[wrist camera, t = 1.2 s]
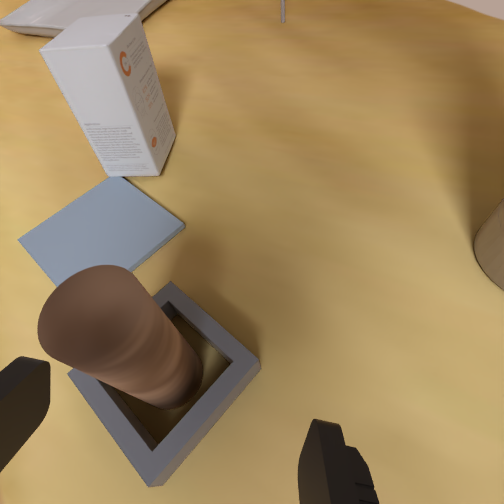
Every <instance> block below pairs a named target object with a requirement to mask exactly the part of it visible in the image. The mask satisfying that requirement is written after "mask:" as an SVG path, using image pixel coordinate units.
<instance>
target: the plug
mask: <svg viewBox="0 0 504 504" xmlns="http://www.w3.org/2000/svg"><path fill="white" fill-rule="evenodd" d="M38 339H39V342H40V344H41V346H42V348H43V349H44V351H45V352H46V353H47V354H48V355H49V356H51V357H52V358H54V359H56V360H58V361H60V362H62V363H64V364H66V365H69V366H71V367H73V368H75V369H77V370H79V371H81V372H83V373H85V374H88V375H90V376H92V377H94V378H96V379H98V380H100V381H102V382H104V383H107V384H109V385H111V386H113V387H115V388H117V389H119V390H121V391H123V392H125V393H128V394H130V395H132V396H134V397H136V398H138V399H140V400H142V401H144V402H147V403H149V404H151V405H153V406H155V407H157V408H160V409H165V410H170V409H175V408H178V407H181V406H183V405H184V404H186V403H187V402H189V401H190V400H191V399H192V398H193V397H194V395H195V394H196V393H197V391H198V389H199V387H200V385H201V382H202V377H203V368H202V363H201V360H200V358H199V357H198V355H197V354H196V352H195V351H194V350H193V349H192V347H191V346H190V345H189V344H188V342H187V341H186V340H185V339H184V337H183V336H182V335H181V334H180V332H179V331H178V330H177V328H176V327H175V326H174V325H173V323H172V322H171V321H170V320H169V318H168V317H167V316H166V315H165V313H164V312H163V311H162V310H161V308H160V307H159V306H158V305H157V303H156V302H155V301H154V300H153V298H152V297H151V296H150V294H149V293H148V292H147V291H146V289H145V288H144V287H143V286H142V284H141V283H140V282H139V281H138V279H137V278H136V277H135V276H134V275H133V274H132V273H131V272H130V271H128V270H127V269H125V268H122V267H120V266H115V265H98V266H93V267H89V268H86V269H84V270H81V271H79V272H77V273H75V274H74V275H72V276H70V277H69V278H68V279H66V280H65V281H64V282H62V283H61V284H60V285H59V286H58V287H57V288H56V289H55V290H54V291H53V293H52V294H51V295H50V296H49V298H48V299H47V301H46V302H45V304H44V306H43V308H42V311H41V313H40V316H39V320H38Z"/></svg>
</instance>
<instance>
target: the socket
mask: <svg viewBox="0 0 504 504" xmlns="http://www.w3.org/2000/svg"><path fill="white" fill-rule="evenodd" d="M152 298H153V300H154V301H155V302H156V303H157V305H158V306H159V307H160V308H161V310H162V311H163V312H164V313H165V315H166V316H167V317H168V318H169V320H171V319H172V318H174V317H175V316H176V315H177V314H179V315H180V316H181V317H182V318H183V319H184V320H185V321H186V322H187V323H188V324H189V325H190V326H192V327H193V328H194V329H195V330H196V331H197V332H198V333H199V334H200V335H201V336H202V337H203V338H204V339H205V340H206V341H207V342H208V343H210V344H211V345H212V346H213V347H214V348H215V349H216V350H217V351H218V352H219V353H220V354H221V355H222V356H223V357H224V358H225V359H227V360H228V361H229V362H230V363H231V364H230V366H229V367H228V368H227V369H226V370H225V371H224V372H223V373H222V375H221V376H220V377H219V378H218V379H217V380H216V381H215V382H214V383H213V385H212V386H211V387H210V388H209V389H208V390H207V391H206V392H205V393H204V395H203V396H202V397H201V398H200V399H199V400H198V401H197V402H196V404H195V405H194V406H193V407H192V408H191V409H190V410H189V411H188V412H187V414H186V415H185V416H184V417H183V418H182V419H181V420H180V421H179V423H178V424H177V425H176V426H175V427H174V428H173V429H172V430H171V431H170V433H169V434H168V435H167V436H166V437H165V438H164V439H163V440H162V442H161V443H160V444H159V445H158V444H157V442H156V441H155V440H154V439H153V437H152V436H151V435H150V434H149V432H148V431H147V430H146V428H145V427H144V426H143V425H142V423H141V422H140V421H139V420H138V418H137V417H136V416H135V414H134V413H133V412H132V411H131V409H130V408H129V407H128V406H127V404H126V403H125V402H124V400H123V399H122V398H121V397H120V395H119V394H118V393H117V392H116V390H115V389H114V388H113V386H111V385H109V384H107V383H104V382H102V381H100V380H98V379H96V378H94V377H92V376H90V375H88V374H85V373H83V372H81V371H79V370H77V369H75V368H73V369H72V370H71V371H70V372H68V373H67V374H68V376H69V377H70V379H71V380H72V381H73V383H74V384H75V386H76V387H77V388H78V390H79V391H80V393H81V394H82V395H83V397H84V398H85V400H86V401H87V402H88V404H89V405H90V407H91V408H92V409H93V411H94V412H95V414H96V415H97V416H98V418H99V419H100V421H101V422H102V423H103V425H104V426H105V428H106V429H107V430H108V432H109V433H110V435H111V436H112V437H113V439H114V440H115V442H116V443H117V444H118V446H119V447H120V449H121V450H122V451H123V453H124V454H125V456H126V457H127V458H128V460H129V461H130V463H131V464H132V465H133V467H134V468H135V469H136V471H137V472H138V474H139V475H140V476H141V478H142V479H143V481H144V482H145V483H146V485H147V486H148V487H155V486H163V485H164V483H165V482H166V481H167V480H168V479H169V477H170V476H171V475H172V474H173V473H174V472H175V470H176V469H177V468H178V467H179V466H180V464H181V463H182V462H183V461H184V460H185V458H186V457H187V456H188V455H189V454H190V453H191V451H192V450H193V449H194V448H195V447H196V445H197V444H198V443H199V442H200V441H201V440H202V438H203V437H204V436H205V435H206V434H207V432H208V431H209V430H210V429H211V428H212V427H213V425H214V424H215V423H216V422H217V421H218V419H219V418H220V417H221V416H222V415H223V414H224V412H225V411H226V410H227V409H228V408H229V406H230V405H231V404H232V403H233V402H234V401H235V399H236V398H237V397H238V396H239V395H240V393H241V392H242V391H243V390H244V389H245V388H246V386H247V385H248V384H249V383H250V382H251V380H252V379H253V378H254V377H255V376H256V374H257V373H258V372H259V371H260V370H261V366H260V363H259V359H258V358H257V357H256V356H254V355H253V354H252V353H251V352H250V351H249V350H248V349H246V348H245V347H244V346H243V345H242V344H241V343H240V342H239V341H237V340H236V339H235V338H234V337H233V336H232V335H231V334H230V333H228V332H227V331H226V330H225V329H224V328H223V327H222V326H221V325H219V324H218V323H217V322H216V321H215V320H214V319H213V318H212V317H210V316H209V315H208V314H207V313H206V312H205V311H204V310H203V309H201V308H200V307H199V306H198V305H197V304H196V303H195V302H194V301H192V300H191V299H190V298H189V297H188V296H187V295H186V294H185V293H183V292H182V291H181V290H180V289H179V288H178V287H177V286H176V285H174V284H173V283H172V282H171V281H170V282H169V283H168V284H167V285H166V286H164V287H163V288H162V289H161V290H160V291H159V292H158V293H157V294H156V295H154V296H153V297H152Z"/></svg>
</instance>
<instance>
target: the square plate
mask: <svg viewBox="0 0 504 504" xmlns="http://www.w3.org/2000/svg"><path fill="white" fill-rule="evenodd" d="M166 1H167V0H30V1H28V2H27V3H25V4H24V5H22V6H21V7H19V8H17V9H16V10H15V11H13V12H12V13H10V14H8V15H7V16H5V17H4V18H2V19H1V20H0V26H2V27H4V28H6V29H8V30H11V31H14V32H17V33H23V34H31V35H39V36H43V37H52V38H55V37H56V36H57V35H59V34H60V33H61V32H62V31H64V30H65V29H66V28H67V27H69V26H70V25H71V24H72V23H74V22H75V21H76V20H77V19H78V18H83V17H91V16H101V15H113V14H128V13H137V14H139V16H140V19H141V21H142V20H143V19H145V18H146V17H147V16H148V15H149V14H151V13H152V12H153V11H154V10H155V9H157V8H158V7H159V6H160V5H162V4H163V3H164V2H166Z"/></svg>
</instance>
